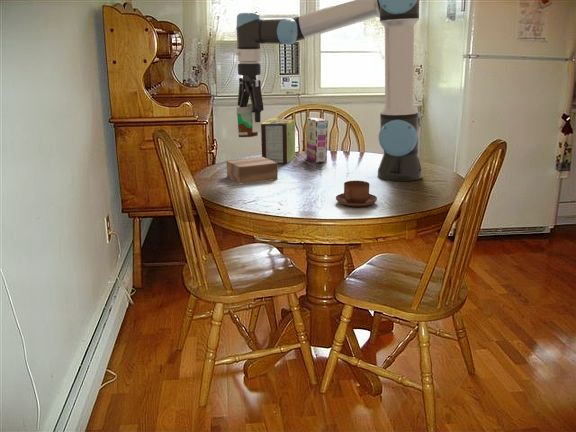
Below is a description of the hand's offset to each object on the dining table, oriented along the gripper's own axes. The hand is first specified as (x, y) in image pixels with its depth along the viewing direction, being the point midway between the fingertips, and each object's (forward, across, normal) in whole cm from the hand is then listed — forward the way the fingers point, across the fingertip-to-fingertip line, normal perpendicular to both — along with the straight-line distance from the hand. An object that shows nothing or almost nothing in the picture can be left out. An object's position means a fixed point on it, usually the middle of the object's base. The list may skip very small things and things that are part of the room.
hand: (250, 129), depth 195 cm
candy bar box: (+17, -17, +34) cm, 42 cm away
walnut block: (+17, 0, 0) cm, 17 cm away
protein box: (+17, -25, +21) cm, 37 cm away
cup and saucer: (+17, +44, +16) cm, 50 cm away
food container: (+2, +1, 0) cm, 2 cm away
